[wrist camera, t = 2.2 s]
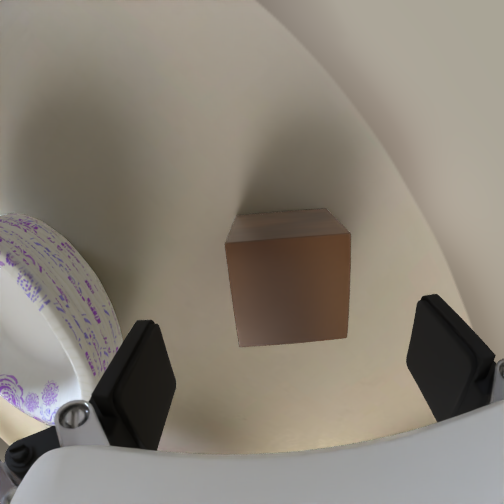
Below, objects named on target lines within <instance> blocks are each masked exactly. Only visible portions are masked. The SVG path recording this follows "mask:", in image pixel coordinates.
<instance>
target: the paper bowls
mask: <svg viewBox="0 0 504 504" xmlns="http://www.w3.org/2000/svg"><path fill="white" fill-rule="evenodd" d="M122 343H123V342H122V334H121V329H120V326H119V322H118V319H117V317H116V314H115V311H114V308H113V306H112V304H111V302H110V299H109V298H108V296H107V294H106V292H105V290H104V288H103V286H102V283H101V282H100V280H99V279H98V277H97V275H96V274H95V272H94V271H93V270H92V268H91V267H90V266H89V265H88V263H87V262H86V261H85V260H84V259H83V257H82V256H81V255H80V254H79V253H78V251H77V250H76V249H75V248H74V247H73V246H72V245H71V244H70V243H69V242H68V240H67V239H66V238H65V237H63V236H62V235H61V234H60V233H58V232H57V231H55V230H54V229H53V228H51V227H50V226H49V225H47V224H46V223H44V222H42V221H41V220H39V219H36V218H33V217H31V216H28V215H25V214H19V213H10V214H6V215H2V216H0V395H1V396H2V397H3V398H4V399H6V400H7V401H8V402H9V403H11V404H12V405H13V406H14V407H16V408H17V409H19V410H21V411H22V412H24V413H25V414H27V415H29V416H31V417H33V418H35V419H36V420H39V421H41V422H43V423H46V424H49V425H52V426H54V425H55V423H54V417H55V414H56V412H57V410H58V409H59V408H60V407H61V406H62V405H64V404H65V403H67V402H69V401H73V400H85V401H88V402H89V400H90V398H91V394H92V392H93V391H94V389H95V387H96V386H97V384H98V382H99V381H100V379H101V377H102V376H103V374H104V372H105V371H106V369H107V367H108V366H109V364H110V362H111V361H112V359H113V357H114V356H115V354H116V352H117V351H118V349H119V348H120V346H121V344H122Z"/></svg>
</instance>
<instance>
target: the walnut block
mask: <svg viewBox="0 0 504 504" xmlns="http://www.w3.org/2000/svg"><path fill="white" fill-rule="evenodd" d="M225 251H226V259H227V266H228V274H229V281H230V288H231V295H232V302H233V309H234V316H235V323H236V330H237V336H238V343H239V347H249V346H266V345H280V344H293V343H304V342H314V341H324V340H333V339H341V338H347V332H348V318H349V299H350V272H351V233H350V232H349V231H348V230H347V229H346V228H345V227H344V226H343V225H342V224H341V223H340V222H339V221H338V220H337V219H336V218H335V217H334V216H333V215H332V214H331V213H330V212H329V211H328V210H327V209H326V208H324V209H309V210H295V211H282V212H270V213H258V214H246V215H236V216H235V219H234V221H233V224H232V226H231V229H230V232H229V234H228V237H227V239H226V242H225Z"/></svg>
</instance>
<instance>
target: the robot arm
mask: <svg viewBox="0 0 504 504" xmlns="http://www.w3.org/2000/svg"><path fill="white" fill-rule="evenodd" d="M494 358H495V354H494V353H493V352H492V351H491V350H490V349H489V347H488V346H487V345H486V344H485V343H484V342H483V341H482V340H481V339H480V338H479V336H478V335H477V334H476V333H475V332H474V331H473V330H472V329H471V328H470V327H469V326H468V325H467V324H466V323H465V322H464V320H463V319H462V318H461V317H460V316H459V315H458V314H457V313H456V312H455V311H454V310H453V309H452V308H451V307H450V306H449V305H448V304H447V303H446V302H445V301H444V300H443V299H442V298H441V297H440V296H439V295H437V294H432V295H426V296H423V297H422V298H421V300H420V301H418V303H417V307H416V313H415V319H414V324H413V329H412V335H411V340H410V344H409V349H408V353H407V358H406V363H407V367H408V369H409V371H410V372H411V374H412V376H413V378H414V379H415V381H416V383H417V385H418V387H419V389H420V390H421V392H422V394H423V396H424V398H425V400H426V401H427V403H428V405H429V407H430V409H431V411H432V413H433V415H434V417H435V419H436V421H437V423H434V424H431V425H428V426H424V427H421V428H418V429H414V430H410V431H407V432H403V433H399V434H395V435H391V436H387V437H382V438H378V439H373V440H368V441H363V442H358V443H353V444H347V445H341V446H334V447H328V448H320V449H312V450H303V451H293V452H280V453H264V454H196V453H179V452H165V451H157V448H158V445H159V441H160V438H161V435H162V431H163V428H164V425H165V422H166V418H167V415H168V412H169V408H170V405H171V402H172V399H173V396H174V392H175V389H176V379H175V376H174V373H173V370H172V367H171V364H170V360H169V357H168V354H167V351H166V347H165V344H164V341H163V337H162V334H161V330H160V327H159V325H158V324H155V323H154V321H153V320H137V321H136V322H135V324H134V325H133V327H132V329H131V330H130V332H129V333H128V335H127V336H126V338H125V340H124V341H123V343H122V344H121V346H120V348H119V349H118V351H117V352H116V354H115V356H114V357H113V359H112V361H111V362H110V364H109V366H108V367H107V369H106V371H105V372H104V374H103V376H102V377H101V379H100V381H99V382H98V384H97V386H96V387H95V389H94V391H93V392H92V394H91V398H90V400H89V402H88V401H85V400H73V401H69V402H67V403H65V404H64V405H62V406H61V407H60V408H59V409H58V410H57V412H56V414H55V417H54V423H55V425H54V426H52V427H50V428H47V429H45V430H43V431H40V432H38V433H35V434H33V435H30V436H28V437H25V438H23V439H20V440H18V441H16V442H14V443H13V444H11V445H10V446H9V448H8V449H7V451H6V454H5V462H4V463H3V462H2V461H1V460H0V504H504V359H502V360H500V361H498V363H497V364H496V363H495V362H494Z"/></svg>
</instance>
